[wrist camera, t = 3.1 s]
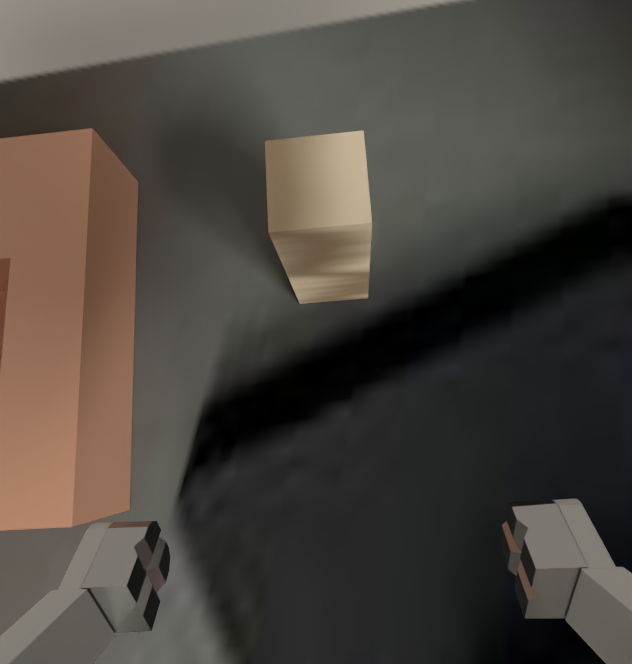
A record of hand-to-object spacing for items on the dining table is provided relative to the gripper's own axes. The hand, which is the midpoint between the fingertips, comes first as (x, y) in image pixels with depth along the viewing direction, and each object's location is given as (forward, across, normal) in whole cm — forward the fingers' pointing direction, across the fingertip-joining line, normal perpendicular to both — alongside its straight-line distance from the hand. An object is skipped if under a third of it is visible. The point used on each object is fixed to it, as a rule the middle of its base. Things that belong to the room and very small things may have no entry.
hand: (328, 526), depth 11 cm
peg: (+19, 0, +2) cm, 19 cm away
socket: (+17, +19, +4) cm, 26 cm away
